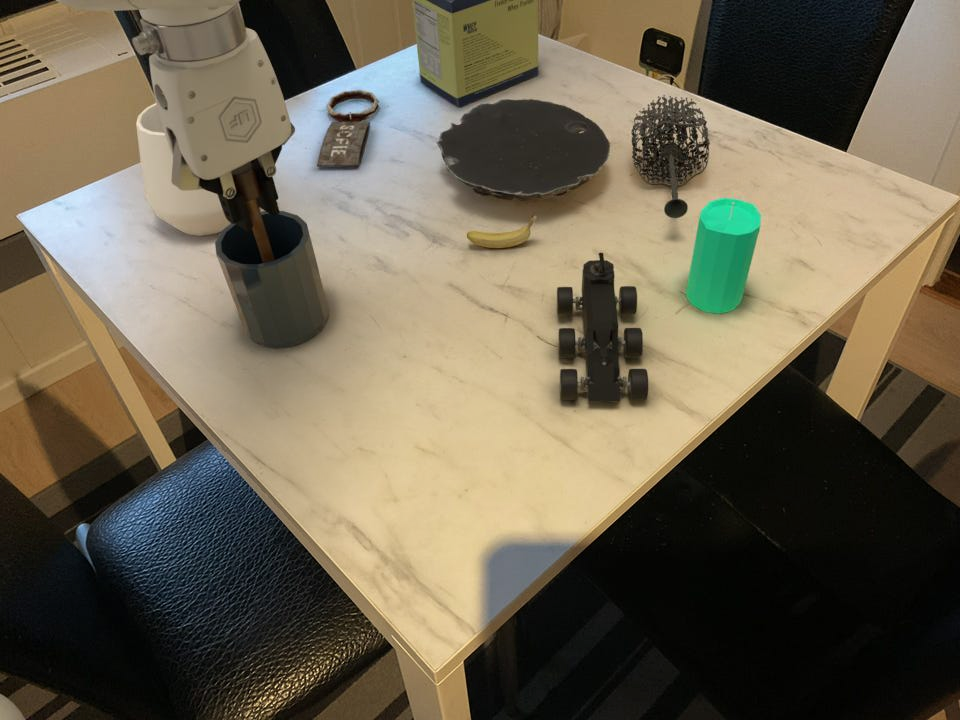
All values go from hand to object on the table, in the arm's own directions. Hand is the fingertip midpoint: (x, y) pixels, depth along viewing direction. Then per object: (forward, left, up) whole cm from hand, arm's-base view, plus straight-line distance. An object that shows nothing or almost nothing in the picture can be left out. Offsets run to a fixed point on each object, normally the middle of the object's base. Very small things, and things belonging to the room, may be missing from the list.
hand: (254, 215), depth 77 cm
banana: (+26, +4, -14) cm, 30 cm away
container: (0, 0, -14) cm, 14 cm away
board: (+33, +17, -14) cm, 40 cm away
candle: (+45, -12, -14) cm, 49 cm away
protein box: (+35, +44, -14) cm, 58 cm away
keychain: (+13, +36, -14) cm, 41 cm away
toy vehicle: (+30, -16, -14) cm, 37 cm away
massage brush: (+49, +8, -14) cm, 52 cm away
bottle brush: (0, 0, -12) cm, 12 cm away
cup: (-7, +23, -14) cm, 28 cm away
